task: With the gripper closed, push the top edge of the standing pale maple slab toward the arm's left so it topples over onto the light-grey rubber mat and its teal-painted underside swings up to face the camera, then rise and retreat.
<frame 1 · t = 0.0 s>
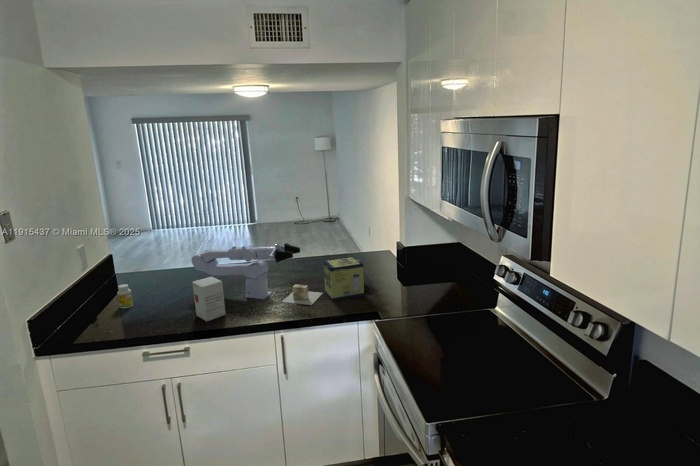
hand: (296, 252, 196), 22 cm above the counter, tool horizontal, fingers open, 7 cm apart
supplement bottle: (126, 306, 199), on the counter
maple block: (300, 298, 201), resting on grey rubber mat
grey rubber mat: (302, 297, 203), on the counter
protein box: (344, 295, 205), on the counter
supplement box: (211, 315, 188), on the counter
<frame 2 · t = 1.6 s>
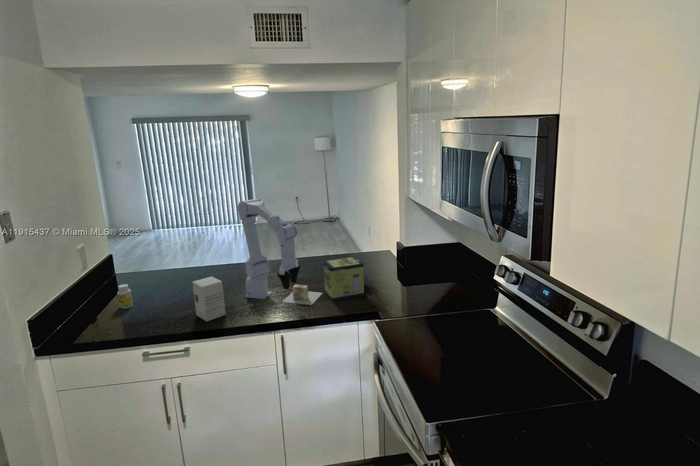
hand: (290, 285, 189), 10 cm above the counter, tool pointing down, fingers open, 7 cm apart
nothing on the counter moved.
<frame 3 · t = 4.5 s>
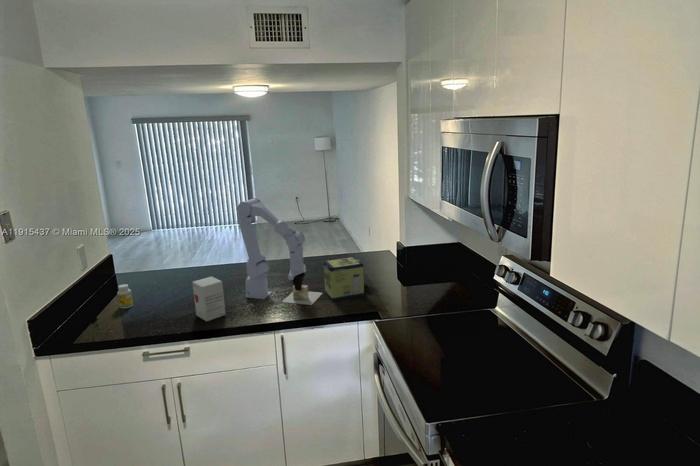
hand: (298, 289, 198), 5 cm above the counter, tool pointing down, fingers closed
maple block: (300, 298, 201), resting on grey rubber mat, touching gripper
everything else where it was.
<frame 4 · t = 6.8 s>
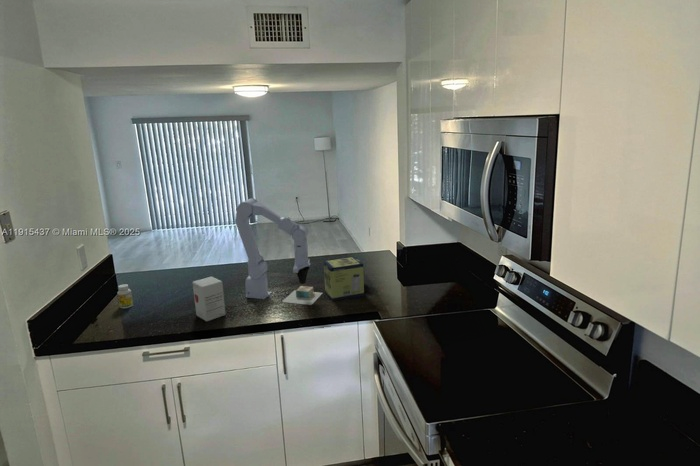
hand: (302, 283, 202), 7 cm above the counter, tool pointing down, fingers closed
maple block: (302, 294, 202), point 2 cm above the counter, tilted 90°, touching grey rubber mat
everything else where it was.
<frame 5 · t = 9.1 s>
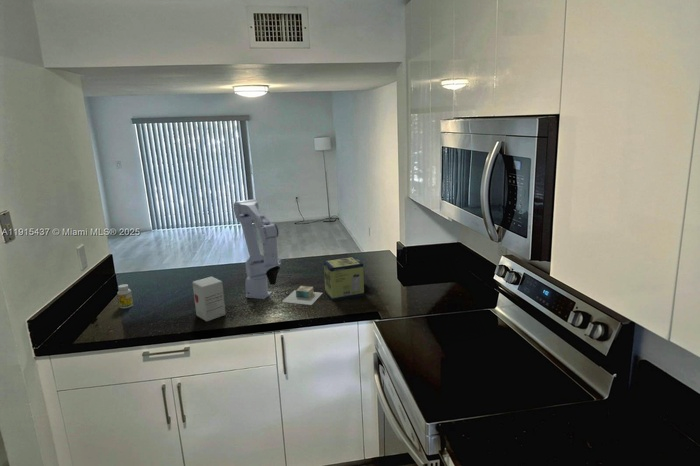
hand: (272, 283, 191), 10 cm above the counter, tool pointing down, fingers closed
nothing on the counter moved.
at the end: maple block tilted 90°; maple block inside the target area (3.5 cm from its centre), point 1.8 cm above the counter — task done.
